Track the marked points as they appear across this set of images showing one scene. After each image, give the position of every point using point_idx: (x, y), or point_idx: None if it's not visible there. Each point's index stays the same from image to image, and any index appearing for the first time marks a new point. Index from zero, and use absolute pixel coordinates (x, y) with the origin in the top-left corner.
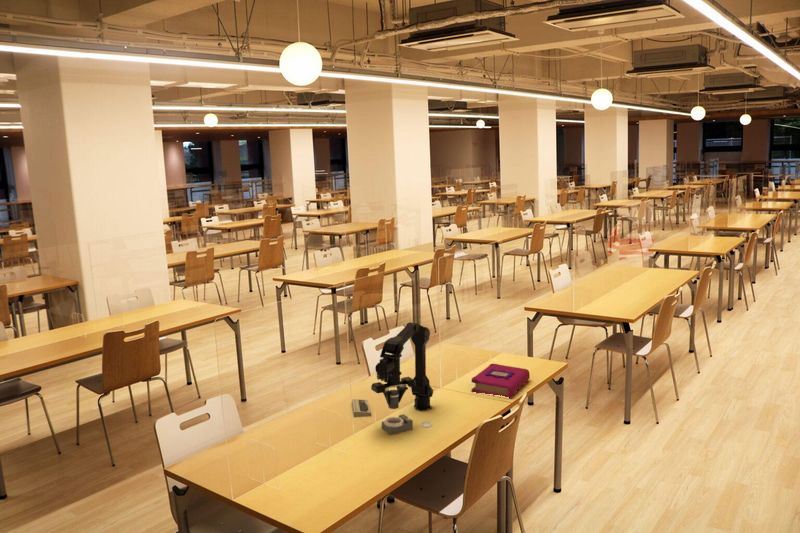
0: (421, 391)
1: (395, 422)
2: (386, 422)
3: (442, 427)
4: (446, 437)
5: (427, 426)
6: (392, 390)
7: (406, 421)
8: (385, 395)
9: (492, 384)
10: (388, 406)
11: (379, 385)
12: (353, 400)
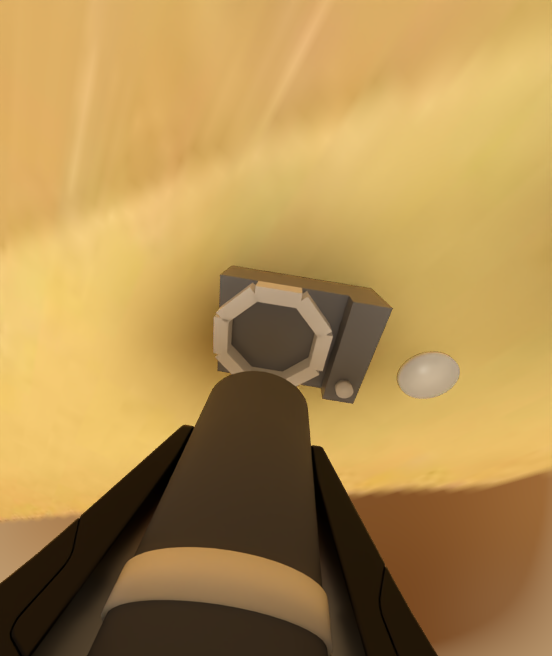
0: None
1: (284, 335)
2: (217, 337)
3: (448, 424)
4: (377, 471)
5: (409, 395)
6: None
7: (325, 384)
8: (39, 590)
9: None
10: (208, 398)
11: None
12: None
